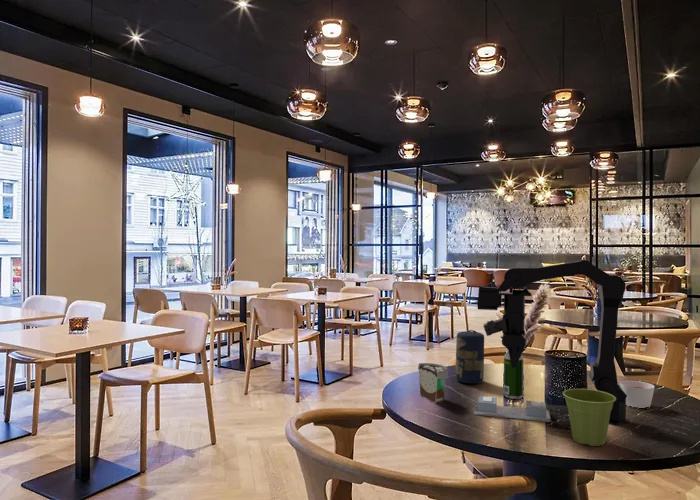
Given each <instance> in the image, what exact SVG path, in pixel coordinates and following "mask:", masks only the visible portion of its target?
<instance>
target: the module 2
mask: <svg viewBox="0 0 700 500" xmlns="http://www.w3.org/2000/svg"><path fill="white" fill-rule="evenodd" d="M525 408H526V413H527V416H537V417H546V410H547V406H546V402H545V401H535V400H528V399H527V400H525Z"/></svg>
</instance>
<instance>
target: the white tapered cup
mask: <svg viewBox="0 0 700 500" xmlns="http://www.w3.org/2000/svg"><path fill="white" fill-rule="evenodd" d="M619 386H620V387H621V388H622V390H623V391H624V392H625V394H626V395H627V397H626V405H627V406H626V407H629V406H632V407H631V408H633V407H638V408H637V409H639V408H645V407H649V408H651V404H652V401H653V400H652V399H653V397H654V392H655V385H654V384H651V383H648V382H646V381H645V382H644V381H639V380H621V381H619Z"/></svg>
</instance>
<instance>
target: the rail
mask: <svg viewBox="0 0 700 500" xmlns="http://www.w3.org/2000/svg"><path fill="white" fill-rule="evenodd" d="M473 414H474V415H476V416H488V417H494V418H495V417H496V418H497V417H498V418H506V419H515V420H526V421H527V420H528V421H535V422H544V423H551V416H550V411H549V410H547V409H546V417H537V416H527V413H526V407H525V408H524V407H518V406H517V407H514V406H505V405H503V406H502V405H497V409H496V412H487V411H478V403H475V405H474V409H473Z"/></svg>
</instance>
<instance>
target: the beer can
mask: <svg viewBox="0 0 700 500" xmlns="http://www.w3.org/2000/svg"><path fill="white" fill-rule="evenodd" d="M503 395H504V397H505V398H508V399H515V400H516V399H517V400H518V399H522V398H523V395H524V357H523V353H522V354H521V356H520V359H519V361H518V363H517V365H516V367H515V368H513V367H511V362H510V357H509V352H506V353H504V356H503Z"/></svg>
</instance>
